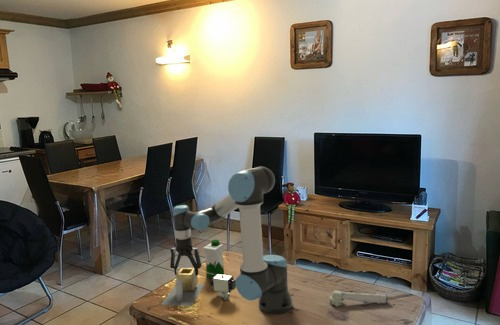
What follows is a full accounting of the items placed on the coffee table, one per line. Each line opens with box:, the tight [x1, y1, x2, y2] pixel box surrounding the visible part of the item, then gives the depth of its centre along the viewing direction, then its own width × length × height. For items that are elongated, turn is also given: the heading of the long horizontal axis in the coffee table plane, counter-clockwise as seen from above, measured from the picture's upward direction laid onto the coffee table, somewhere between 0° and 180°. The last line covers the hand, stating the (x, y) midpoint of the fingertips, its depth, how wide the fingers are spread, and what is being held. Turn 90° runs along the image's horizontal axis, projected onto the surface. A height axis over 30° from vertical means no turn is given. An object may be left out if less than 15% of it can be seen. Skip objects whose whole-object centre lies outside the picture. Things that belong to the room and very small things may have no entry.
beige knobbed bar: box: [329, 289, 389, 307], centre depth 180 cm, size 5×7×25 cm
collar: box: [175, 267, 199, 290], centre depth 199 cm, size 8×8×8 cm
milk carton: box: [202, 239, 225, 279], centre depth 212 cm, size 9×9×20 cm
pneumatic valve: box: [209, 273, 236, 301], centre depth 191 cm, size 6×12×12 cm, turn 68°
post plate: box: [160, 278, 206, 307], centre depth 194 cm, size 15×22×12 cm
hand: (187, 281), depth 199 cm, fingers closed on collar, 8 cm apart
